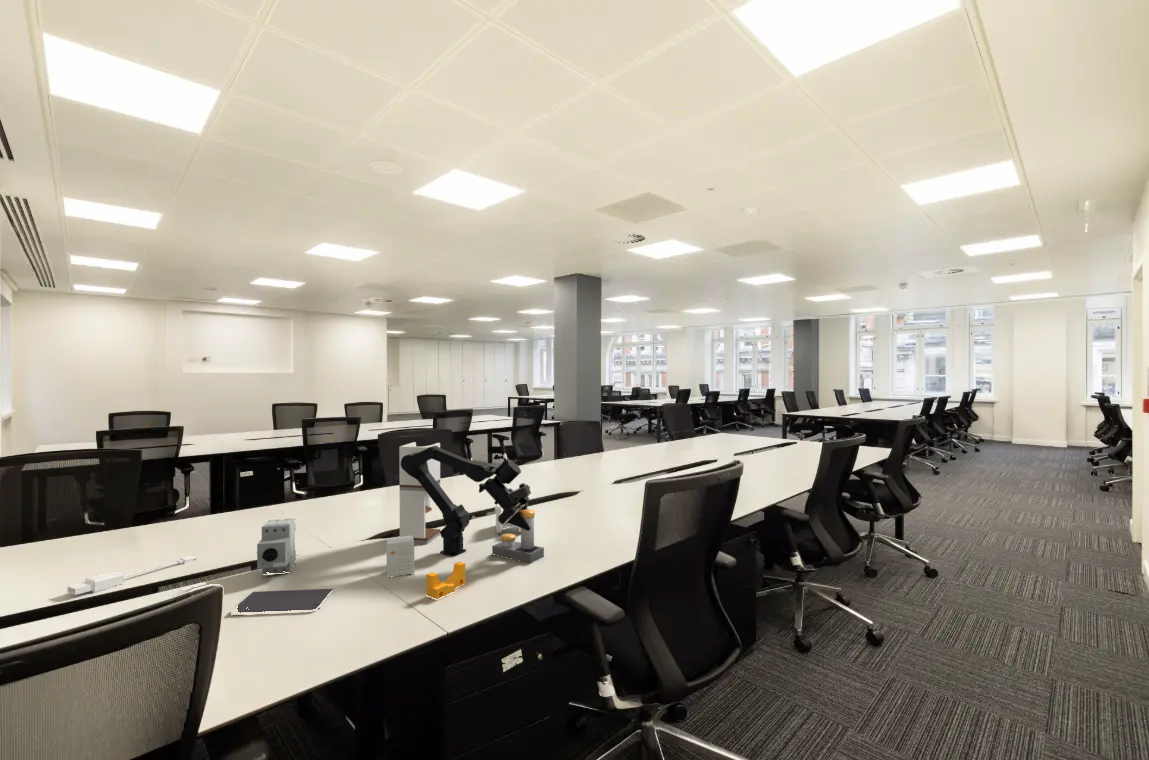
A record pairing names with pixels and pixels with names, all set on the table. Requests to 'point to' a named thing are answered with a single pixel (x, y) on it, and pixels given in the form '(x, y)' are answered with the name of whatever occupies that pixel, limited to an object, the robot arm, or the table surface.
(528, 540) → the plug
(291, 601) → the notebook
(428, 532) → the display case
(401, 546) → the small box
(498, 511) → the cable organizer
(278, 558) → the circuit breaker
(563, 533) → the table surface
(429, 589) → the pipe clamp
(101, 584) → the charging cable
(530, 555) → the grey divided tray
